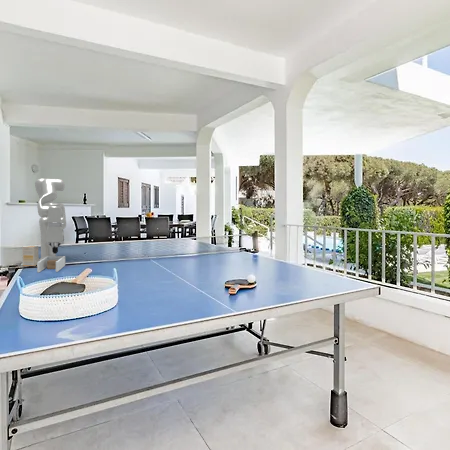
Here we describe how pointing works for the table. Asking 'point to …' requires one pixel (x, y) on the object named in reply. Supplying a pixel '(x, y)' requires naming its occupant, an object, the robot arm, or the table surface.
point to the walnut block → (51, 264)
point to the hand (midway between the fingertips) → (55, 253)
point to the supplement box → (30, 255)
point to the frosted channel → (43, 263)
